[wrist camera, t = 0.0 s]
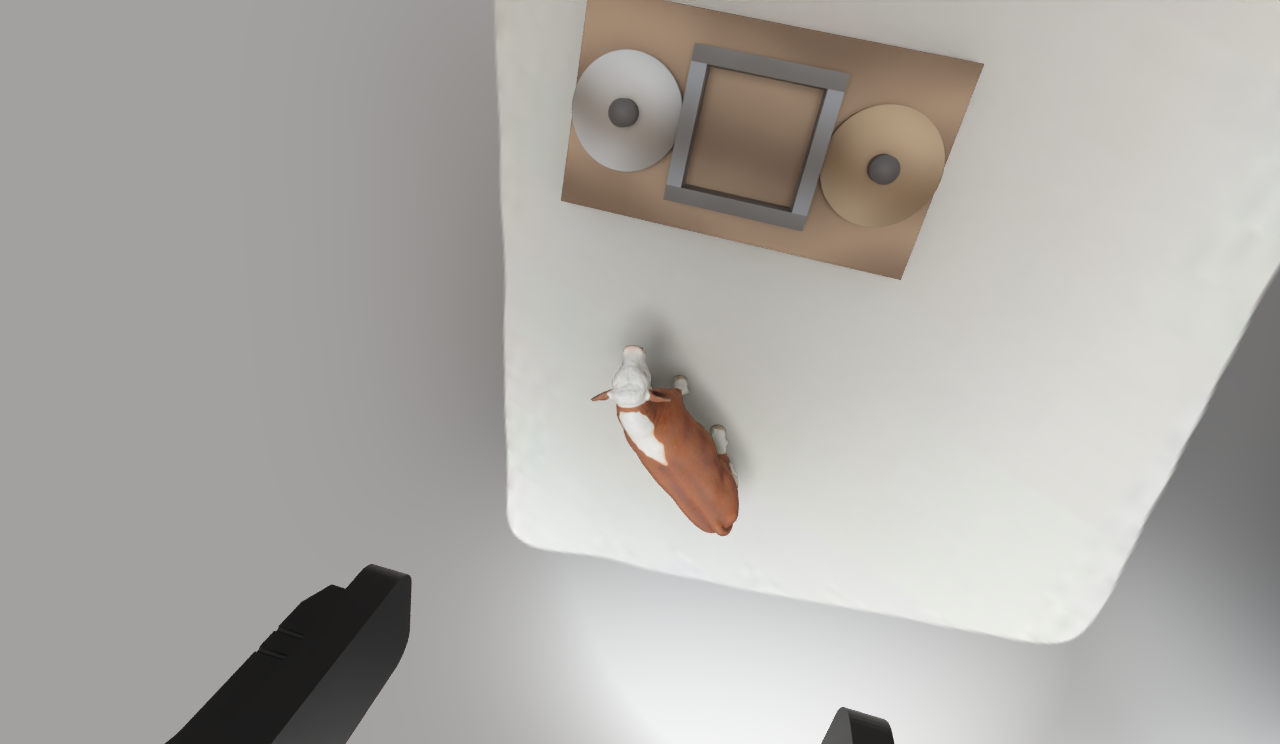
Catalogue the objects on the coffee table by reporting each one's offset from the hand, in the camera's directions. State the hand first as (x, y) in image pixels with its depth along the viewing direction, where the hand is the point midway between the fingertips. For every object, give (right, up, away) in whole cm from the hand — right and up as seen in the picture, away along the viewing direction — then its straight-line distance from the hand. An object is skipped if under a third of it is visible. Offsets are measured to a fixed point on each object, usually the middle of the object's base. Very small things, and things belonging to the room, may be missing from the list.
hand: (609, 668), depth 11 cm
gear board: (+7, +19, +23) cm, 30 cm away
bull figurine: (+3, +3, +31) cm, 31 cm away
